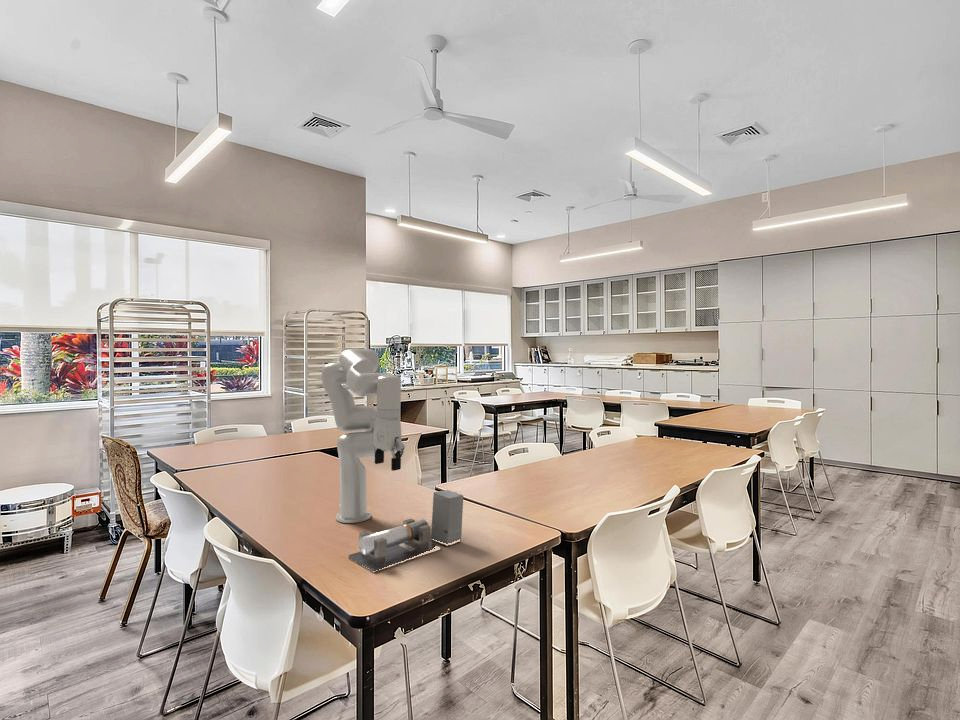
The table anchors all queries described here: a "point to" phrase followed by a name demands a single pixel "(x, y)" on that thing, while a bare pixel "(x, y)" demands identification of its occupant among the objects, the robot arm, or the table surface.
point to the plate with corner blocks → (394, 549)
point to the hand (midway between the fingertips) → (387, 466)
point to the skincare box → (447, 516)
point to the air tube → (392, 536)
